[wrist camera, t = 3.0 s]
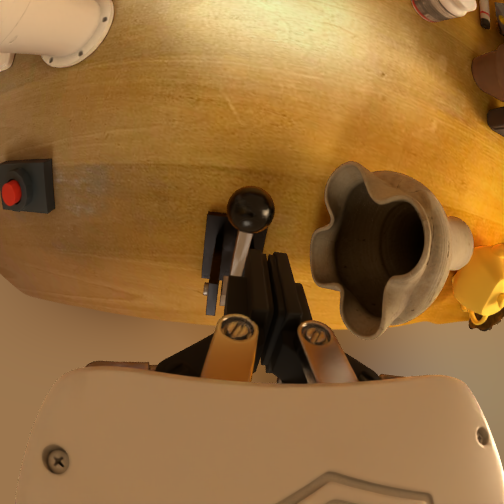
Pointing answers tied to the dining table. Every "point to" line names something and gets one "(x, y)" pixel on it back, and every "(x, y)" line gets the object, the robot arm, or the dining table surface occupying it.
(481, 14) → the marker
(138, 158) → the dining table surface
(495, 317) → the figurine
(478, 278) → the teapot
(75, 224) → the dining table surface
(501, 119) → the card reader
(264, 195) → the lever
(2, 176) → the button box
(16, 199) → the button
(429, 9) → the pill bottle
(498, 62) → the flower pot
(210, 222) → the bracket
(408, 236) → the vase
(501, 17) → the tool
